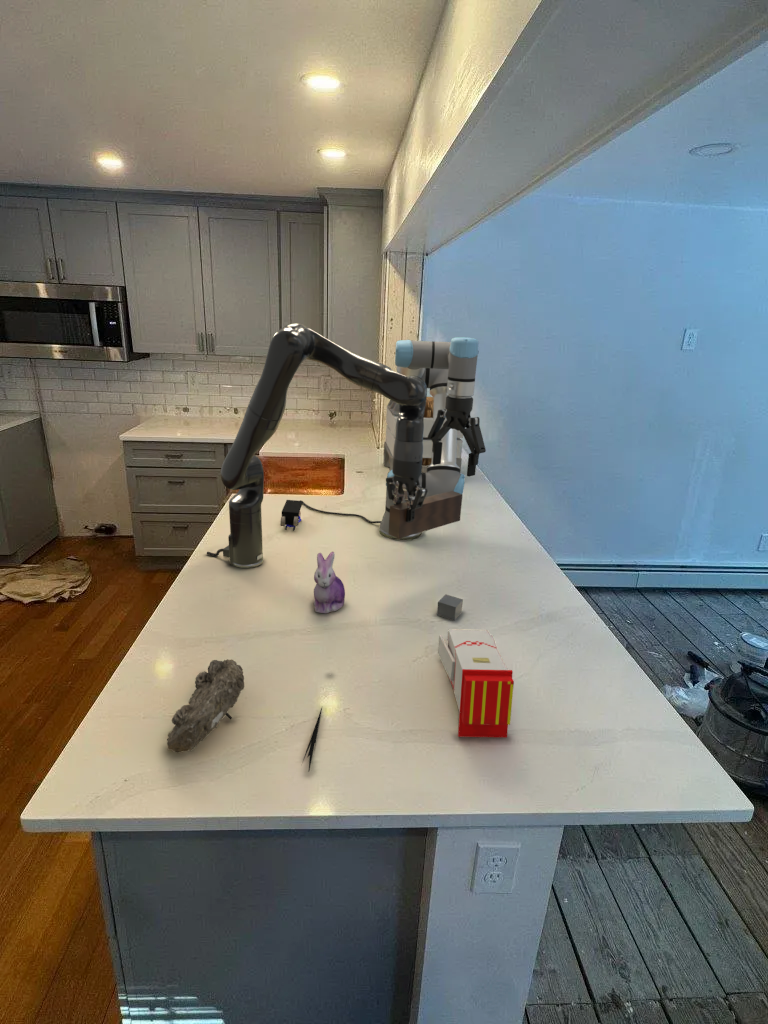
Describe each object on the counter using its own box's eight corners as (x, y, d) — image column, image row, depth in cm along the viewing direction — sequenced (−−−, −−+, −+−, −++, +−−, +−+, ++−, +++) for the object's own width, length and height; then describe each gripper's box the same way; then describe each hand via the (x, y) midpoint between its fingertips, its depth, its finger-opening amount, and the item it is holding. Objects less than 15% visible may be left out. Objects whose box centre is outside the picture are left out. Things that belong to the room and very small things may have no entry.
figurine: (319, 618, 143) (319, 564, 138) (305, 600, 152) (304, 548, 147) (353, 610, 148) (354, 558, 143) (337, 593, 156) (338, 543, 151)
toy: (488, 613, 130) (523, 677, 101) (484, 667, 133) (517, 744, 104) (435, 612, 130) (455, 676, 101) (432, 666, 133) (451, 743, 103)
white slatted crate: (382, 463, 289) (386, 382, 275) (445, 464, 293) (451, 384, 279) (390, 482, 257) (394, 392, 243) (460, 483, 261) (468, 394, 247)
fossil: (192, 660, 117) (244, 628, 112) (224, 691, 120) (276, 661, 115) (142, 746, 98) (202, 712, 93) (182, 779, 101) (242, 748, 96)
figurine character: (299, 536, 197) (303, 517, 210) (298, 517, 193) (303, 498, 207) (279, 536, 197) (285, 516, 210) (278, 516, 193) (285, 497, 207)
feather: (331, 679, 122) (336, 673, 122) (307, 777, 96) (313, 769, 95) (324, 675, 122) (329, 669, 121) (298, 772, 95) (304, 764, 95)
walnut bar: (398, 539, 148) (400, 510, 146) (388, 534, 151) (389, 505, 149) (460, 520, 163) (462, 494, 161) (449, 516, 166) (452, 490, 164)
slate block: (436, 615, 148) (437, 601, 146) (444, 607, 152) (445, 594, 151) (454, 620, 146) (455, 607, 144) (461, 612, 150) (463, 599, 148)
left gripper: (378, 452, 147) (375, 514, 153) (416, 464, 137) (411, 530, 143) (400, 449, 152) (396, 509, 158) (438, 460, 142) (432, 524, 148)
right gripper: (419, 390, 163) (414, 461, 171) (485, 404, 145) (477, 483, 153) (437, 388, 168) (432, 457, 175) (504, 402, 150) (495, 478, 158)
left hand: (403, 519), depth 151 cm, fingers closed on walnut bar, 4 cm apart
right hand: (453, 469), depth 164 cm, fingers open, 13 cm apart
